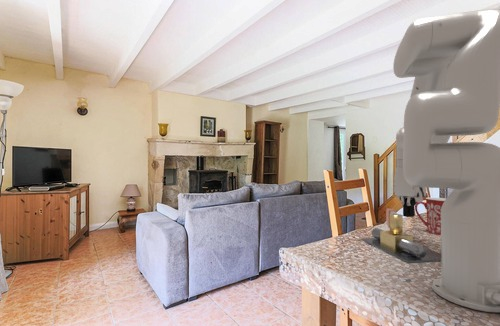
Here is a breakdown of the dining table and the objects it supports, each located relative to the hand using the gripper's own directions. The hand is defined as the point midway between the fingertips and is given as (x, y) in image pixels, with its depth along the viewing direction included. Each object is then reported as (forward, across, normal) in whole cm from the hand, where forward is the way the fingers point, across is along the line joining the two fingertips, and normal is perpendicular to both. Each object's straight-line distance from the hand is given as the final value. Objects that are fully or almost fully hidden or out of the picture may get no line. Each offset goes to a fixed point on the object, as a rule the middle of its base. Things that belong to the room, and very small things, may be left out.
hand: (408, 216), depth 92 cm
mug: (+9, +8, -20) cm, 23 cm away
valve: (+9, -7, +9) cm, 15 cm away
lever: (+3, -2, +9) cm, 10 cm away
